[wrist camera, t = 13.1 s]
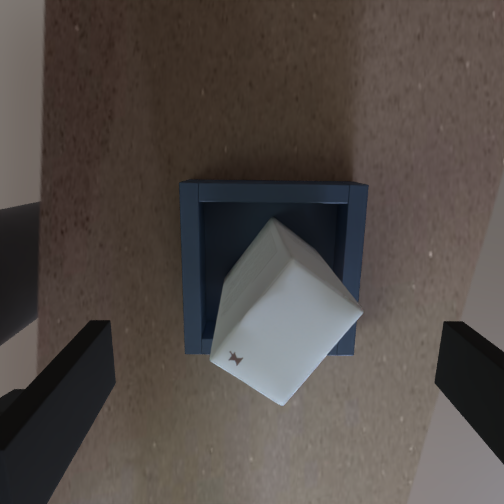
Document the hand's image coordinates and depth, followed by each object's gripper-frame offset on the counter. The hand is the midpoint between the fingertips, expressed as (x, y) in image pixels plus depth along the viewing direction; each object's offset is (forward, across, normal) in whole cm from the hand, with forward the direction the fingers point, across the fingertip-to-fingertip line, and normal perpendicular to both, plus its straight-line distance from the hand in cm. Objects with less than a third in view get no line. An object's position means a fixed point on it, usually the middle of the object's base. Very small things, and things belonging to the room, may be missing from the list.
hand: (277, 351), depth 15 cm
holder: (+14, +1, 0) cm, 14 cm away
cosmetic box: (+14, +1, 0) cm, 14 cm away
